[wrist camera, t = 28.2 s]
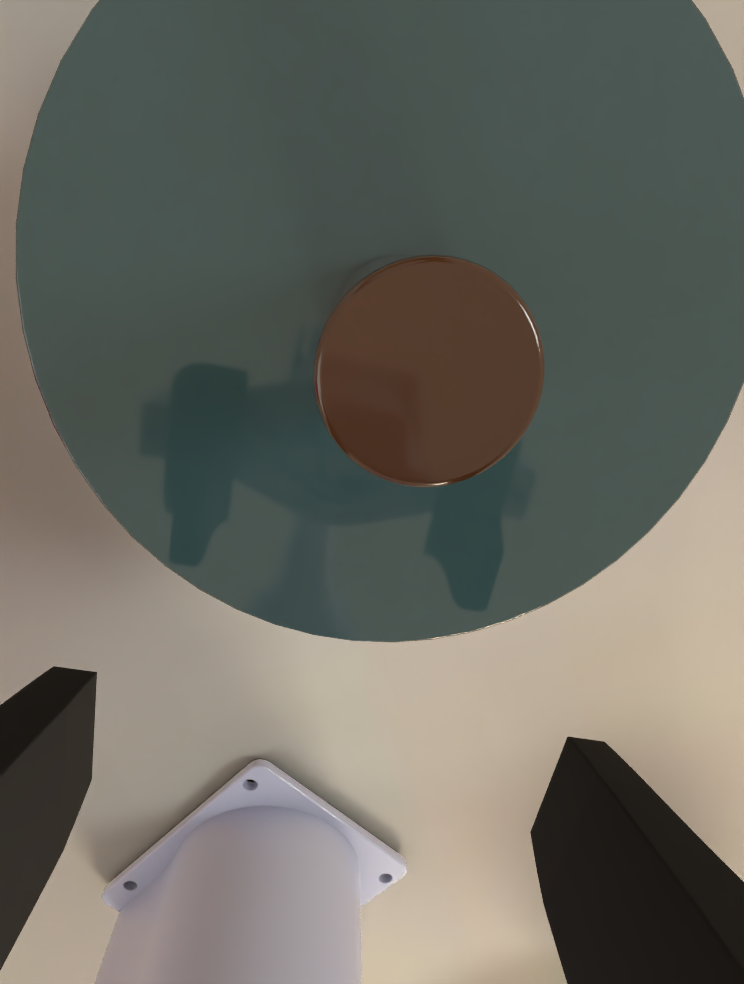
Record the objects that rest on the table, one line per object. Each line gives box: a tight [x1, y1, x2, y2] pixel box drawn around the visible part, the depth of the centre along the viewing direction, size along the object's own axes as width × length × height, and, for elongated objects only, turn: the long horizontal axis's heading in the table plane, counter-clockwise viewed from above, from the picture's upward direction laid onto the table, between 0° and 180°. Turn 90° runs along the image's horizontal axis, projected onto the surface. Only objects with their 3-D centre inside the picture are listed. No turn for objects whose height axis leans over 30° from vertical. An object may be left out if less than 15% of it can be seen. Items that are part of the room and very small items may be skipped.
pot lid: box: [16, 0, 744, 642], centre depth 9 cm, size 13×13×6 cm
